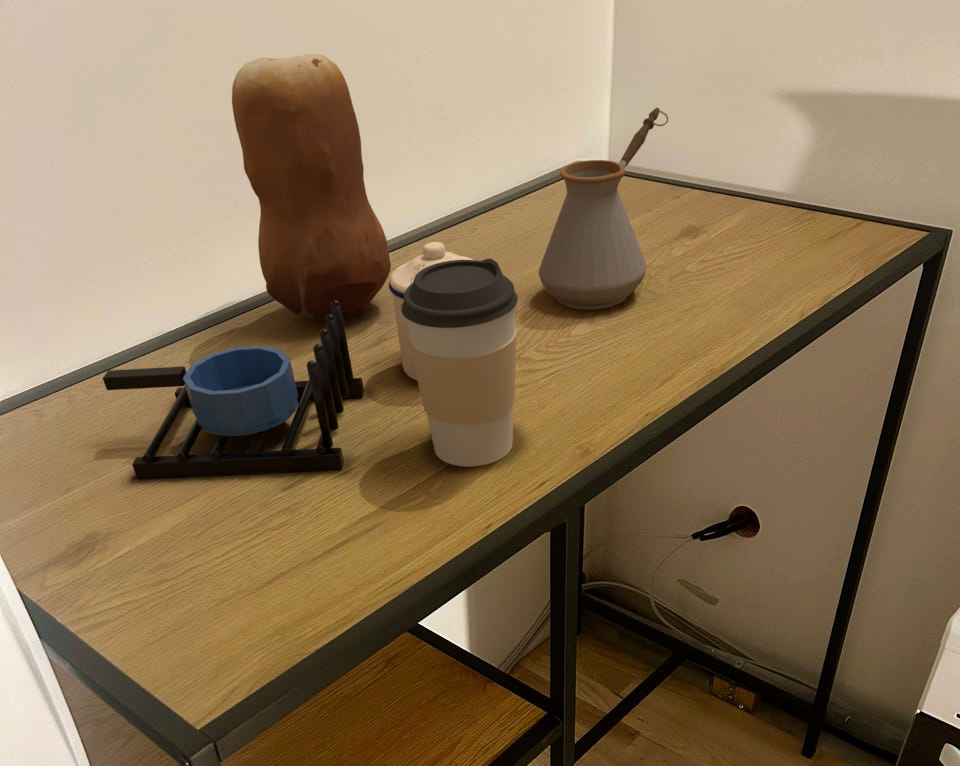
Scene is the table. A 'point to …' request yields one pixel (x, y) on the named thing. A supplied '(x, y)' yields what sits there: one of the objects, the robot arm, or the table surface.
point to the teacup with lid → (403, 280)
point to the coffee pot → (595, 235)
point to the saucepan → (226, 388)
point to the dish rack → (323, 386)
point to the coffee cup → (465, 357)
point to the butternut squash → (309, 185)
